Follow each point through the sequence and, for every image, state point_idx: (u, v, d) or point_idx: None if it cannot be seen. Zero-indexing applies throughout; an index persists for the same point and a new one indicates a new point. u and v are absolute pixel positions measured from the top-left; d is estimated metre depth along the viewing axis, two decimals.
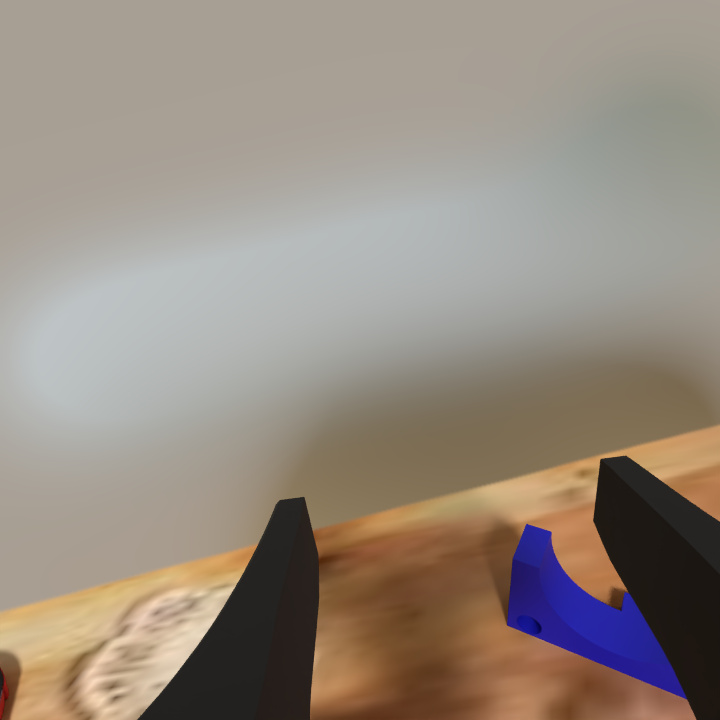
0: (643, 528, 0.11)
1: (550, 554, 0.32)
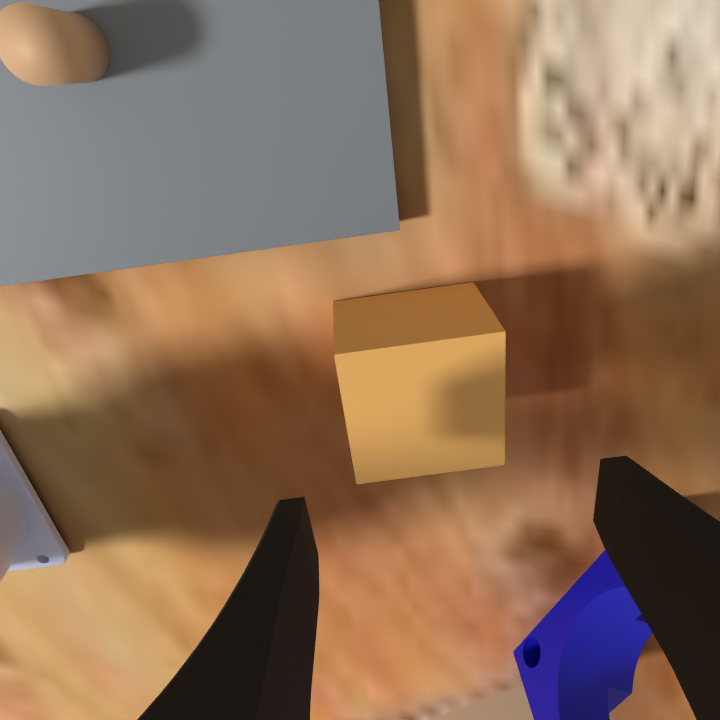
0: (643, 528, 0.11)
1: None
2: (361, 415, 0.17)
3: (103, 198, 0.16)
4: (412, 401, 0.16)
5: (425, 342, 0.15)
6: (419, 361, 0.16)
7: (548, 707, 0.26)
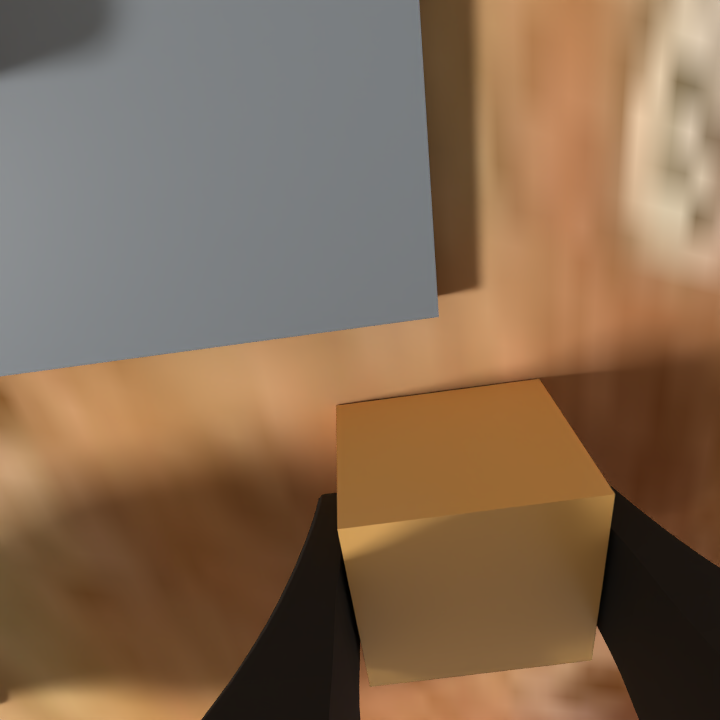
0: None
1: None
2: (379, 605, 0.11)
3: None
4: (459, 586, 0.11)
5: (485, 510, 0.10)
6: (473, 536, 0.10)
7: None
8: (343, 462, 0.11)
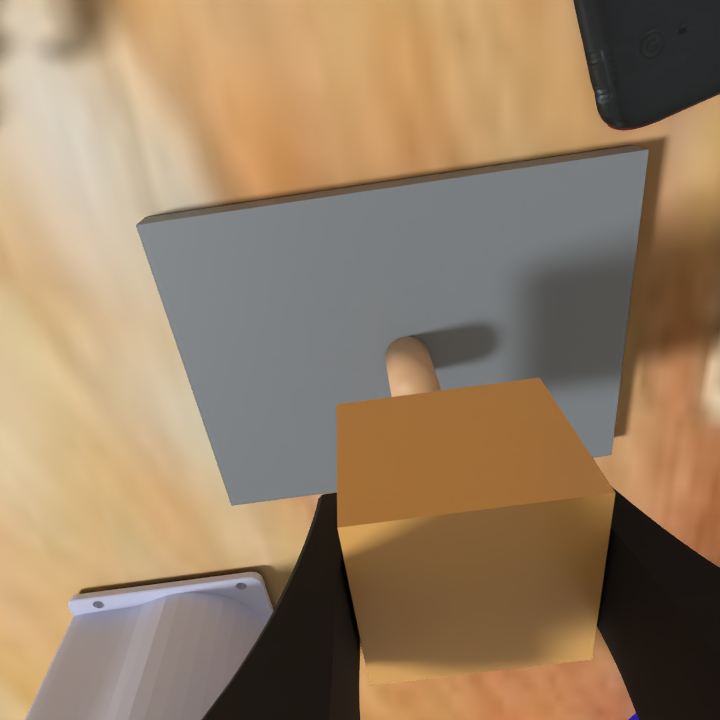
0: None
1: None
2: (379, 604, 0.11)
3: None
4: (459, 585, 0.11)
5: (485, 509, 0.10)
6: (473, 534, 0.10)
7: None
8: (343, 461, 0.11)
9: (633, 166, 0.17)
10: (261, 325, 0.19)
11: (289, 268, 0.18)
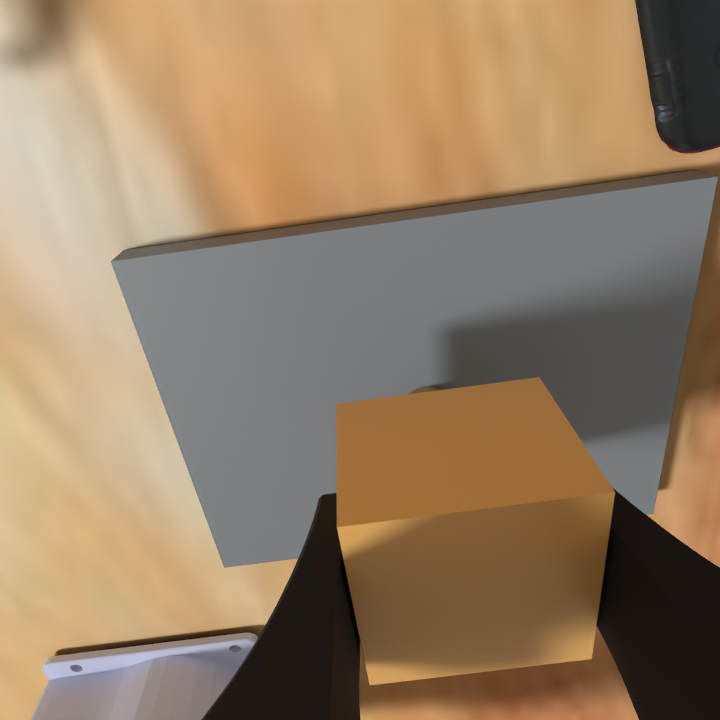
0: None
1: None
2: (379, 604, 0.11)
3: None
4: (458, 585, 0.11)
5: (484, 509, 0.10)
6: (473, 534, 0.10)
7: None
8: (343, 460, 0.11)
9: (698, 196, 0.14)
10: (258, 374, 0.16)
11: (291, 311, 0.15)
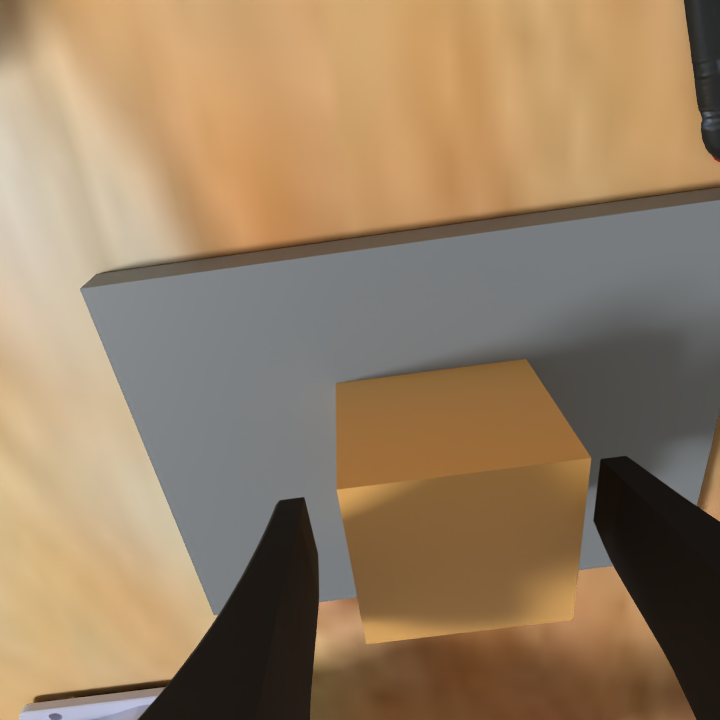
0: (643, 528, 0.11)
1: None
2: (375, 564, 0.12)
3: None
4: (449, 546, 0.11)
5: (472, 473, 0.10)
6: (461, 497, 0.11)
7: None
8: (342, 432, 0.12)
9: None
10: (249, 411, 0.14)
11: (286, 343, 0.13)
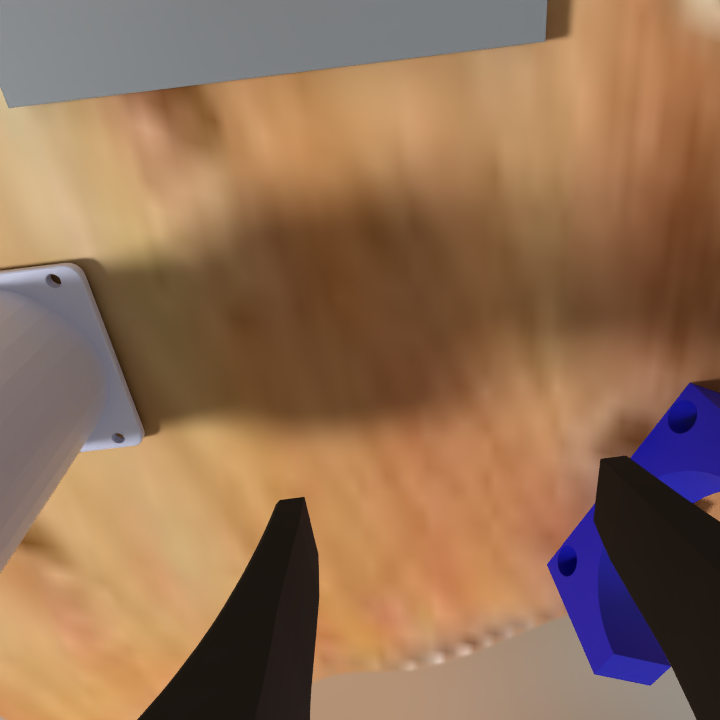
0: (643, 528, 0.11)
1: None
2: None
3: None
4: None
5: None
6: None
7: (588, 610, 0.25)
8: None
9: None
10: None
11: None
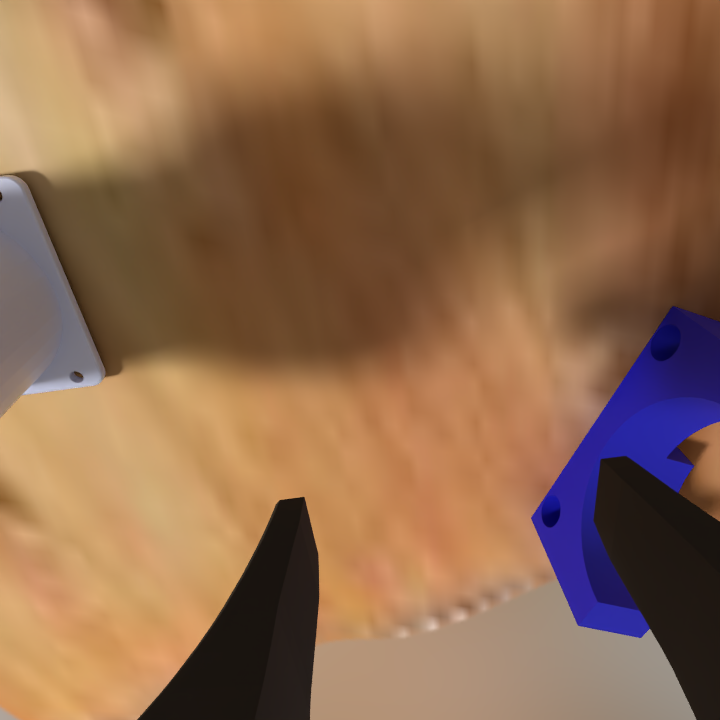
0: (643, 528, 0.11)
1: None
2: None
3: None
4: None
5: None
6: None
7: (572, 560, 0.23)
8: None
9: None
10: None
11: None
